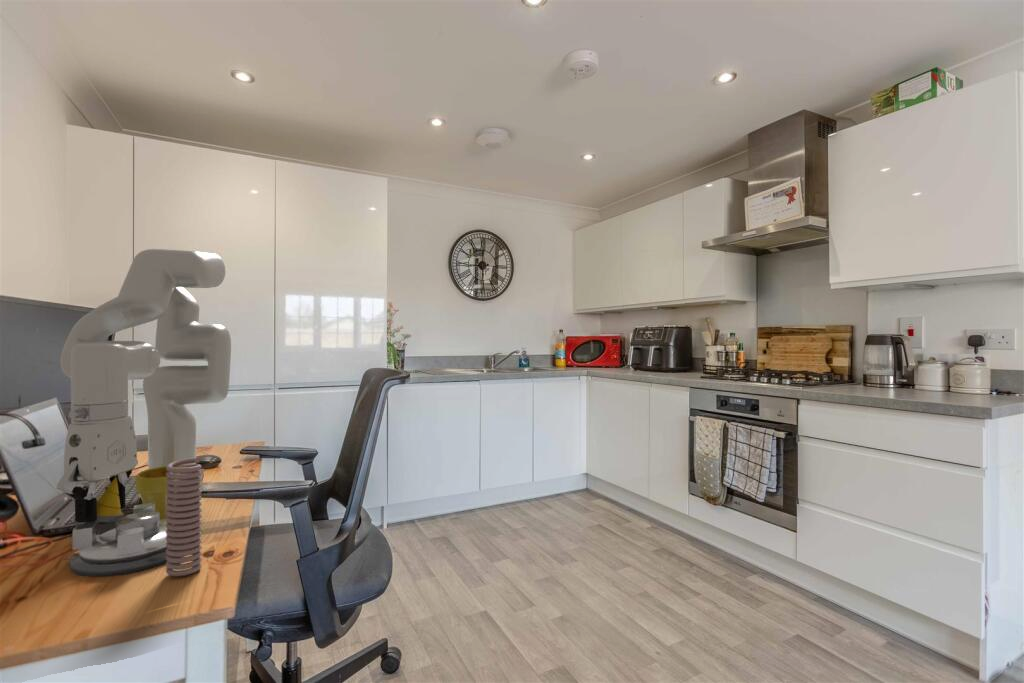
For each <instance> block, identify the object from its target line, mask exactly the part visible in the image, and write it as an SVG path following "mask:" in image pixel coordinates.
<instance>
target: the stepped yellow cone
mask: <svg viewBox="0 0 1024 683" xmlns="http://www.w3.org/2000/svg"><path fill="white" fill-rule="evenodd" d="M106 487H107V489H106V488H105V489H106V490H104V491H103V493H101V495H100V497H99V498H98V499H97V519H96V521H94V522H96V533H97V532H98V533H97V535H98V536H99V535H101V534H103V533H105V532H107V531H109V530H112V529H115V528H116V520H117V519H119V518H121V517H124V516H125V513H124V512H123V511H122V509H119V508H121V506H120V499H119V496H118V495H119V491H118V484H117V477H115V478H114V480H113V481H112V482H111V484H110V485H108V486H106ZM84 523H90V522H84Z"/></svg>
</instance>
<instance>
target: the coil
mask: <svg viewBox="0 0 1024 683" xmlns="http://www.w3.org/2000/svg"><path fill="white" fill-rule="evenodd" d="M200 461H201V459H200V458H199V457H196V458H189V459H183V460H179V461H175V462H172V463H170V464H168V465H167V467H166V470H167V471H168V472H167V473H166V476H167V477H168V478H167V479H166V483H167V486H166V489H167V490H168V491H167V492H166V495H167V498H166V502H167V505H166V508H167V509H168V510H167V511H166V515H167V517H166V521H167V524H166V528H167V530H166V534H167V536H166V540H167V543H166V547H167V549H166V553H167V556H166V560H167V562H166V563H165V566H166V568H165V572H166V574H167V575H169V576H171V577H182V576H183V577H184V576H189V575H192V574H194V573H197V572H198V571H199V570H201V569H202V566H203V565H202V559H203V558H202V557H201V556H202V551H201V550H202V545H201V543H202V538H201V537H202V535H203V534H202V532H201V531H202V526H201V525H202V520H200V519H202V517H203V515H202V514H201V513H202V512H203V511H202V508H201V507H202V504H203V503H202V502H201V500H202V492H203V491H201V490H200V489H199V488H200V487H201V486H202V485H201V484H202V483H201V481H202V477H201V475H202V471H201V469H202V467H203V466H202V465H201V464H199V463H200ZM188 463H196V464H190V465H184V466H179V467H175V466H178V465H182V464H188ZM173 473H176V474H173ZM174 479H177V480H174ZM173 486H175V487H173ZM173 492H175V493H173ZM174 498H175V499H174ZM173 505H174V506H173ZM173 511H175V512H173ZM172 524H173V525H172ZM190 530H191V531H190ZM186 537H188V538H186ZM172 543H173V544H172ZM186 543H189V544H186ZM183 544H184V545H183ZM187 549H191V550H187ZM183 550H187V551H183Z"/></svg>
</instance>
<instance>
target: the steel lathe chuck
mask: <svg viewBox="0 0 1024 683" xmlns="http://www.w3.org/2000/svg"><path fill="white" fill-rule="evenodd" d="M166 524H167V521H166V519H162V520H160V513H159V512H155V502H154V503H147V504H143V503H140V504H134V506H133V508H132V513H131V514H128V515H123V517H121V518H119V519H117V520H116V528H114V529H112V530H109V531H107V532H105V533H103V534H101V535H99V536H98V534H97V531H96V522H90V523H85V522H82V523H79V524H78V523H77V525H75V527H74V528H73V530H72V551H73V550H74V551H77V550H79V558H80V559H81V560H82V561H84V562H89V563H113V562H121V561H127V560H132V559H137V558H141V557H145V556H149V555H152V554H155V553H158V552H161V551H164V550H166V549H167V547H166V543H167V540H166V536H167V534H166V530H167V528H166ZM172 525H173V524H172ZM190 531H191V530H190ZM186 538H188V537H186ZM172 544H173V543H172Z"/></svg>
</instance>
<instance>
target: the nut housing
mask: <svg viewBox="0 0 1024 683" xmlns="http://www.w3.org/2000/svg"><path fill="white" fill-rule="evenodd" d="M186 544H189V543H186ZM183 545H184V544H183ZM187 550H191V549H187ZM187 550H183V551H187ZM166 556H167V553H166V550H164V551H161V552H158V553H155V554H152V555H149V556H145V557H141V558H137V559H132V560H127V561H121V562H113V563H89V562H84V561H82V560H81V559H80V558H79V549H76V550H75V552H73V553H72V556H71V558H70V562H69V563H70V571H71V572H72V573H73V574H75V575H76V576H77V575H78V576H81V577H90V578H91V577H92V578H96V577H97V578H99V577H101V578H103V577H104V578H106V577H116V576H124V575H129V574H134V573H138V572H142V571H145V570H149V569H153V568H155V567H159V566H161V565H166V562H167V560H166Z"/></svg>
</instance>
